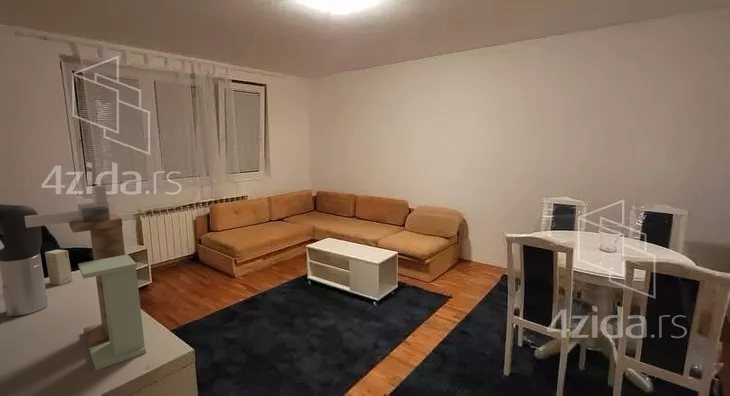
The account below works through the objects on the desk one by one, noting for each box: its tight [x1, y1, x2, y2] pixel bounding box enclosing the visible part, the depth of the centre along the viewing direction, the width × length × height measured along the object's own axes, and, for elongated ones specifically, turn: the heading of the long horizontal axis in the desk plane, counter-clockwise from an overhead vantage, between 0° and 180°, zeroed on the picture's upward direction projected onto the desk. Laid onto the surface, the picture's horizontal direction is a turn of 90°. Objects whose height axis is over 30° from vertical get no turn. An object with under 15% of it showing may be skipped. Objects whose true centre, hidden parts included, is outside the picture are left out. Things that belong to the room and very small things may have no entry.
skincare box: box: [44, 249, 73, 286], centre depth 131 cm, size 6×4×12 cm
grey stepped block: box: [25, 185, 111, 228], centre depth 87 cm, size 16×4×8 cm, turn 134°
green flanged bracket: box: [77, 254, 147, 371], centre depth 85 cm, size 10×10×23 cm
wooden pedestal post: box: [68, 207, 126, 348], centre depth 93 cm, size 10×10×35 cm
